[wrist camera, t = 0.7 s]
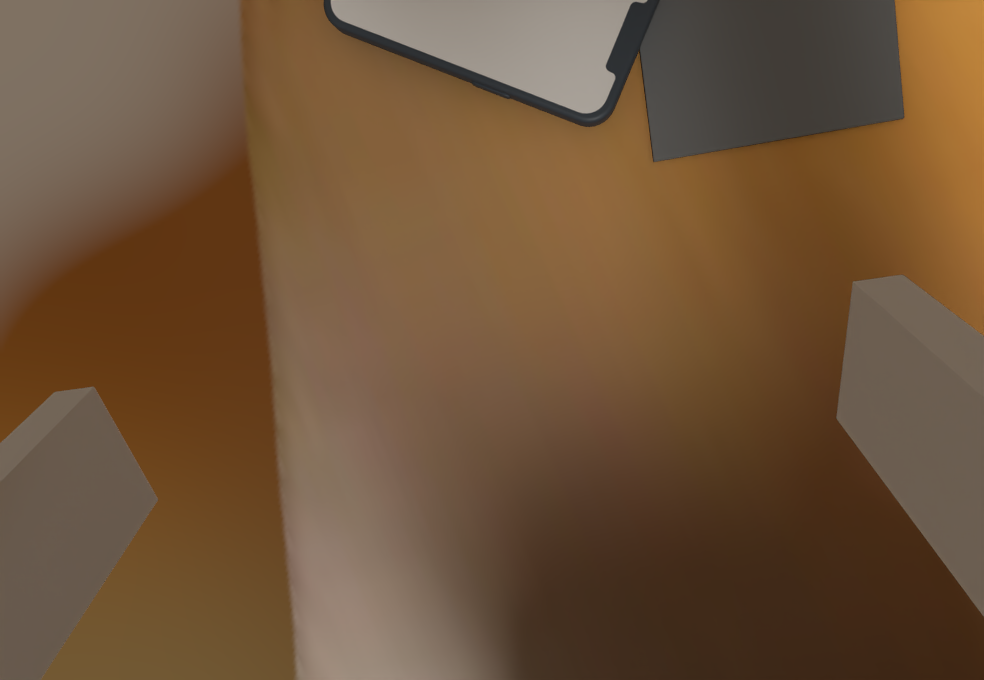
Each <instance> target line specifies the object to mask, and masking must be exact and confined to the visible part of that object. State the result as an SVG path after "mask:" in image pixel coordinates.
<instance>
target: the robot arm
mask: <svg viewBox="0 0 984 680" xmlns="http://www.w3.org/2000/svg"><path fill="white" fill-rule="evenodd" d="M836 419H837V420H838V422H839V423H840V424H841V426H842V427H843V428H844V430H845V431H846V432H847V434H848V435H849V436H850V438H851V439H852V440H853V442H854V443H855V444H856V446H857V447H858V448H859V450H860V451H861V452H862V454H863V455H864V456H865V458H866V459H867V461H868V462H869V463H870V465H871V466H872V467H873V469H874V470H875V471H876V473H877V474H878V475H879V477H880V478H881V479H882V481H883V482H884V483H885V485H886V486H887V487H888V489H889V490H890V491H891V493H892V494H893V495H894V497H895V498H896V500H897V501H898V502H899V504H900V505H901V506H902V508H903V509H904V510H905V512H906V513H907V514H908V516H909V517H910V518H911V520H912V521H913V522H914V524H915V525H916V526H917V528H918V529H919V530H920V532H921V533H922V534H923V536H924V537H925V538H926V540H927V541H928V543H929V544H930V545H931V547H932V548H933V549H934V551H935V552H936V553H937V555H938V556H939V557H940V559H941V560H942V561H943V563H944V564H945V565H946V567H947V568H948V569H949V571H950V572H951V573H952V575H953V576H954V577H955V579H956V580H957V582H958V583H959V584H960V586H961V587H962V588H963V590H964V591H965V592H966V594H967V595H968V596H969V598H970V599H971V600H972V602H973V603H974V604H975V606H976V607H977V608H978V610H979V611H980V612H981V614H982V615H983V616H984V336H983V335H982V334H980V333H979V332H978V331H976V330H975V329H974V328H972V327H971V326H970V325H968V324H967V323H966V322H965V321H963V320H962V319H961V318H959V317H958V316H957V315H955V314H954V313H953V312H951V311H950V310H949V309H947V308H946V307H945V306H943V305H942V304H941V303H940V302H938V301H937V300H936V299H934V298H933V297H932V296H930V295H929V294H928V293H926V292H925V291H924V290H922V289H921V288H920V287H918V286H917V285H916V284H915V283H913V282H912V281H911V280H909V279H908V278H907V277H905V276H904V275H896V276H889V277H882V278H875V279H868V280H860V281H853V285H852V293H851V301H850V309H849V318H848V326H847V334H846V342H845V351H844V359H843V367H842V375H841V384H840V392H839V400H838V408H837V417H836ZM157 501H158V499H157V497H156V495H155V493H154V491H153V490H152V488H151V486H150V484H149V483H148V481H147V479H146V477H145V476H144V474H143V472H142V471H141V469H140V467H139V465H138V463H137V462H136V460H135V458H134V456H133V454H132V453H131V451H130V449H129V447H128V446H127V444H126V442H125V441H124V439H123V437H122V435H121V433H120V432H119V430H118V428H117V426H116V425H115V423H114V421H113V419H112V418H111V416H110V414H109V413H108V411H107V409H106V407H105V405H104V403H103V402H102V400H101V398H100V396H99V395H98V393H97V391H96V389H95V388H94V387H88V388H81V389H74V390H67V391H60V392H54V393H53V394H52V395H51V396H50V397H49V398H48V399H47V400H46V401H45V402H44V403H43V404H42V405H41V406H39V408H37V409H36V410H35V411H34V412H33V413H32V414H31V415H30V416H29V417H28V418H27V419H26V420H25V421H24V422H23V423H22V424H20V425H19V426H18V427H17V428H16V429H15V430H14V431H13V432H12V433H11V434H10V435H9V436H8V437H7V438H5V439H4V440H3V441H2V442H1V443H0V680H41V678H42V677H43V675H44V674H45V672H46V671H47V669H48V668H49V666H50V664H51V663H52V661H53V660H54V658H55V657H56V655H57V653H58V652H59V651H60V649H61V648H62V646H63V645H64V643H65V642H66V640H67V638H68V637H69V635H70V634H71V632H72V631H73V629H74V628H75V626H76V625H77V623H78V621H79V620H80V619H81V617H82V615H83V614H84V612H85V611H86V609H87V608H88V606H89V605H90V603H91V602H92V600H93V599H94V597H95V595H96V594H97V592H98V591H99V589H100V588H101V586H102V585H103V583H104V582H105V580H106V579H107V577H108V575H109V574H110V573H111V571H112V569H113V568H114V566H115V565H116V563H117V562H118V560H119V559H120V557H121V556H122V554H123V553H124V551H125V550H126V548H127V546H128V545H129V543H130V542H131V540H132V539H133V537H134V535H135V534H136V533H137V531H138V529H139V528H140V526H141V525H142V523H143V522H144V520H145V519H146V517H147V516H148V514H149V513H150V511H151V510H152V508H153V506H154V505H155V504H156V502H157Z"/></svg>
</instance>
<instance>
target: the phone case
mask: <svg viewBox="0 0 984 680" xmlns="http://www.w3.org/2000/svg"><path fill="white" fill-rule="evenodd" d="M659 1H660V0H324V10H325V13H326V16H327V18H328V19H329V21H330V22H331V23H332V24H333V25H334V26H335V27H336V28H337V29H338V30H339V31H341V32H342V33H344V34H346V35H349V36H351V37H354V38H357V39H359V40H362V41H364V42H367V43H369V44H372V45H375V46H377V47H380V48H382V49H385V50H387V51H390V52H393V53H395V54H398V55H400V56H403V57H405V58H408V59H411V60H413V61H416V62H418V63H421V64H423V65H426V66H429V67H431V68H434V69H436V70H439V71H441V72H444V73H447V74H449V75H452V76H454V77H457V78H460V79H462V80H465V81H467V82H470V83H472V84H473V85H474V86H476V87H478V88H481V89H483V90H486V91H489V92H491V93H494V94H496V95H499V96H501V97H504V98H507V99H510V98H511V99H514V100H516V101H519V102H521V103H524V104H526V105H529V106H532V107H534V108H537V109H539V110H542V111H544V112H547V113H550V114H552V115H555V116H557V117H560V118H563V119H565V120H568V121H570V122H573V123H575V124H578V125H581V126H585V127H592V126H596V125H599V124H601V123H603V122H605V121H606V120H607V119H608V118H609V117H610V116H611V114H612V113H613V111H614V109H615V106H616V104H617V102H618V99H619V97H620V94H621V92H622V90H623V87H624V85H625V82H626V80H627V78H628V75H629V73H630V70H631V68H632V66H633V63H634V61H635V58H636V56H637V54H638V51H639V49H640V47H641V44H642V42H643V39H644V37H645V35H646V32H647V30H648V27H649V25H650V23H651V20H652V18H653V15H654V13H655V11H656V8H657V6H658V3H659Z"/></svg>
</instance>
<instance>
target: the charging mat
mask: <svg viewBox="0 0 984 680" xmlns="http://www.w3.org/2000/svg"><path fill="white" fill-rule="evenodd" d="M640 57H641V65H642V73H643V81H644V89H645V97H646V105H647V113H648V121H649V129H650V137H651V145H652V153H653V161H654V162H656V161H662V160H668V159H674V158H679V157H685V156H691V155H697V154H702V153H708V152H714V151H720V150H725V149H731V148H737V147H743V146H749V145H754V144H760V143H766V142H772V141H777V140H783V139H789V138H795V137H800V136H806V135H812V134H818V133H823V132H829V131H835V130H841V129H847V128H852V127H858V126H864V125H870V124H875V123H881V122H887V121H893V120H898V119H903V118H904V108H903V96H902V85H901V73H900V61H899V49H898V37H897V25H896V13H895V1H894V0H660V1H659V3H658V6H657V8H656V11H655V13H654V15H653V18H652V20H651V23H650V25H649V27H648V30H647V32H646V35H645V37H644V39H643V42H642V44H641V47H640Z"/></svg>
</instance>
